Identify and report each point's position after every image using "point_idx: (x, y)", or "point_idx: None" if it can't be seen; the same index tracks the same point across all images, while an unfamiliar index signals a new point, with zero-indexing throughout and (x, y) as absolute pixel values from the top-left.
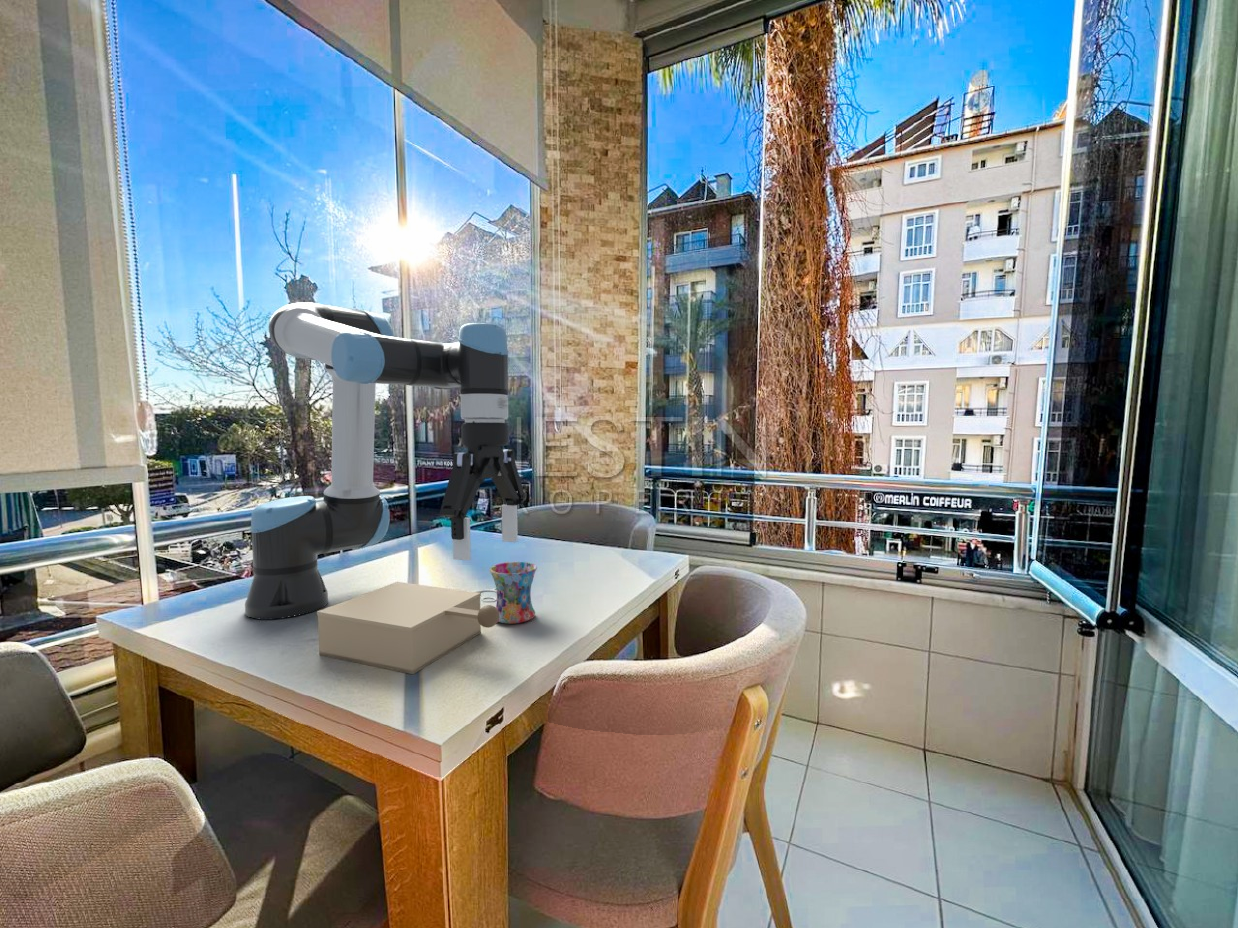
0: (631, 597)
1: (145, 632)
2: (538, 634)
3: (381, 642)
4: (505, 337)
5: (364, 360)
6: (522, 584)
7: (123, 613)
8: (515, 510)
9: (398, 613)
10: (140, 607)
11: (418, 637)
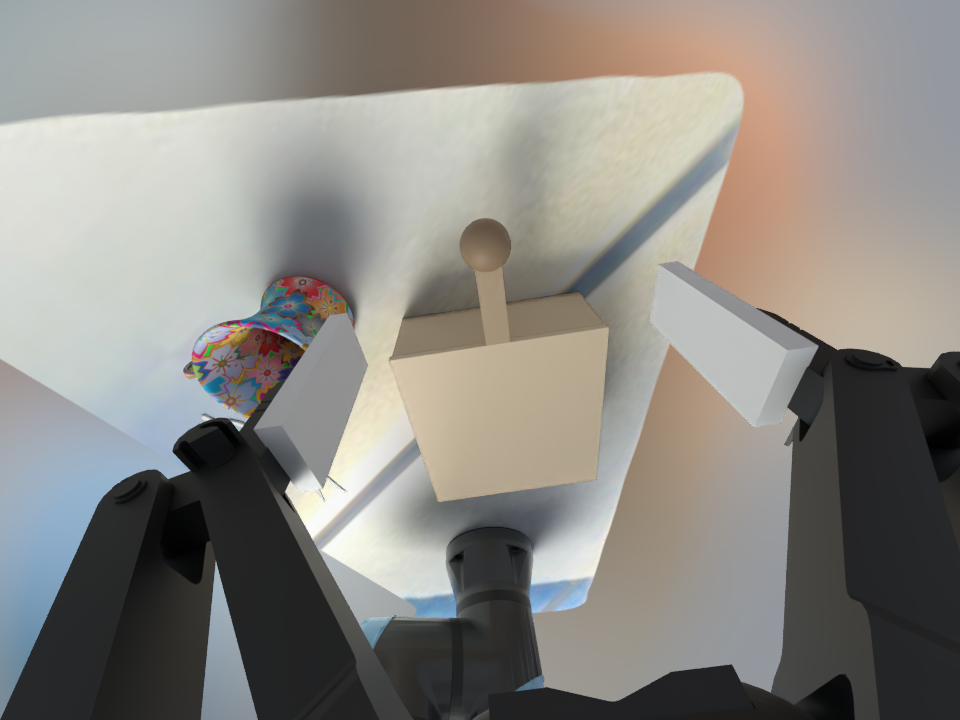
0: None
1: (594, 569)
2: (332, 213)
3: None
4: None
5: None
6: (283, 319)
7: (570, 606)
8: (288, 404)
9: (558, 394)
10: (554, 610)
11: (581, 318)
